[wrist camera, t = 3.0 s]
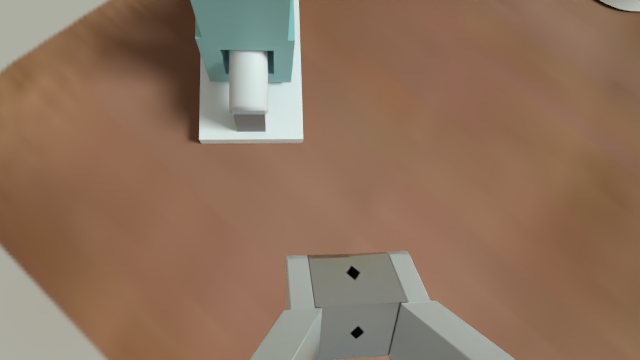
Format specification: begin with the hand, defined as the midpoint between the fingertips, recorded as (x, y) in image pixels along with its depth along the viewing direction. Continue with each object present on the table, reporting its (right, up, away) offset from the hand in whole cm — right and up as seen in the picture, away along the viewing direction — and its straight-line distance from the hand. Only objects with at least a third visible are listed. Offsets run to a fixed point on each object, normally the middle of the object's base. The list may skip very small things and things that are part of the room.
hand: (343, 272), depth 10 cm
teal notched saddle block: (-7, +13, +26) cm, 30 cm away
